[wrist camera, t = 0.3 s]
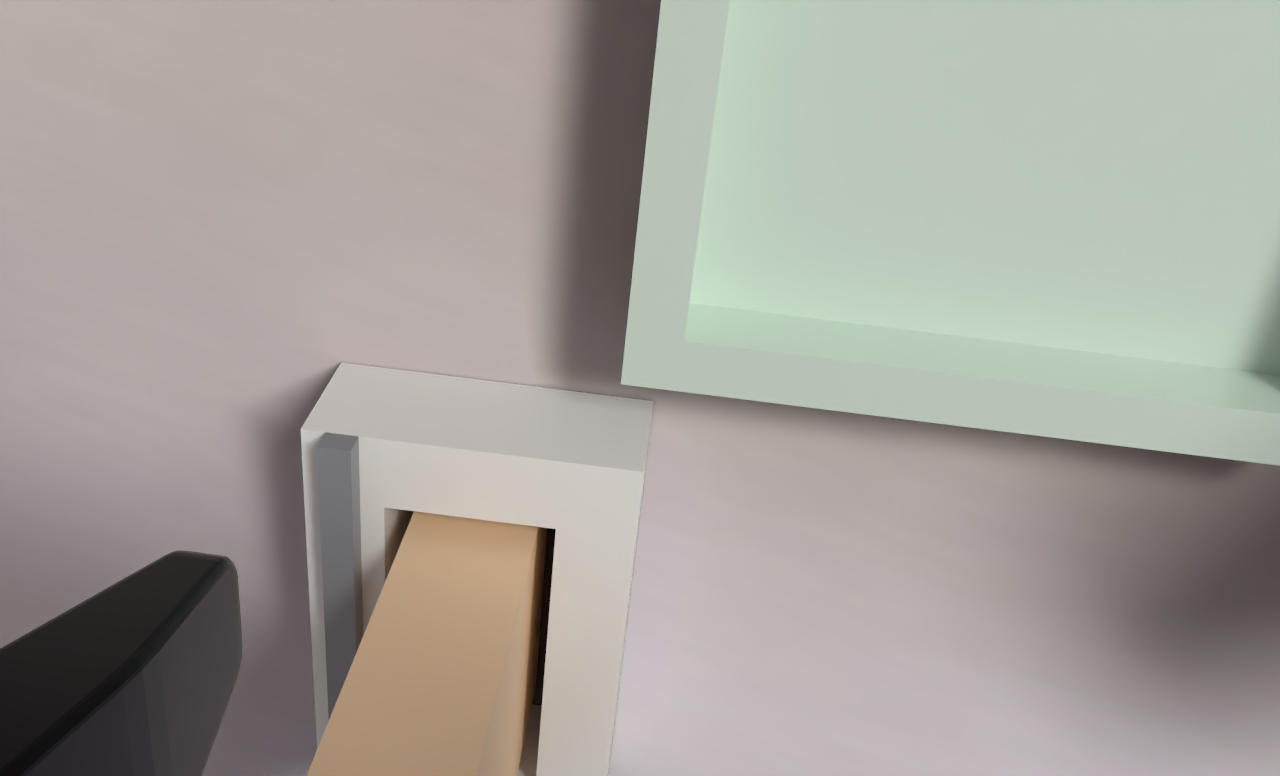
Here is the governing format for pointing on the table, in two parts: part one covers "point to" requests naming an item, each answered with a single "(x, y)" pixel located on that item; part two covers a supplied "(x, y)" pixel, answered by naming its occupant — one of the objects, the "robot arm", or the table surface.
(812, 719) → the table surface
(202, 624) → the robot arm
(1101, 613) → the table surface
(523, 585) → the tan cardboard block
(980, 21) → the tray
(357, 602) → the dispenser
